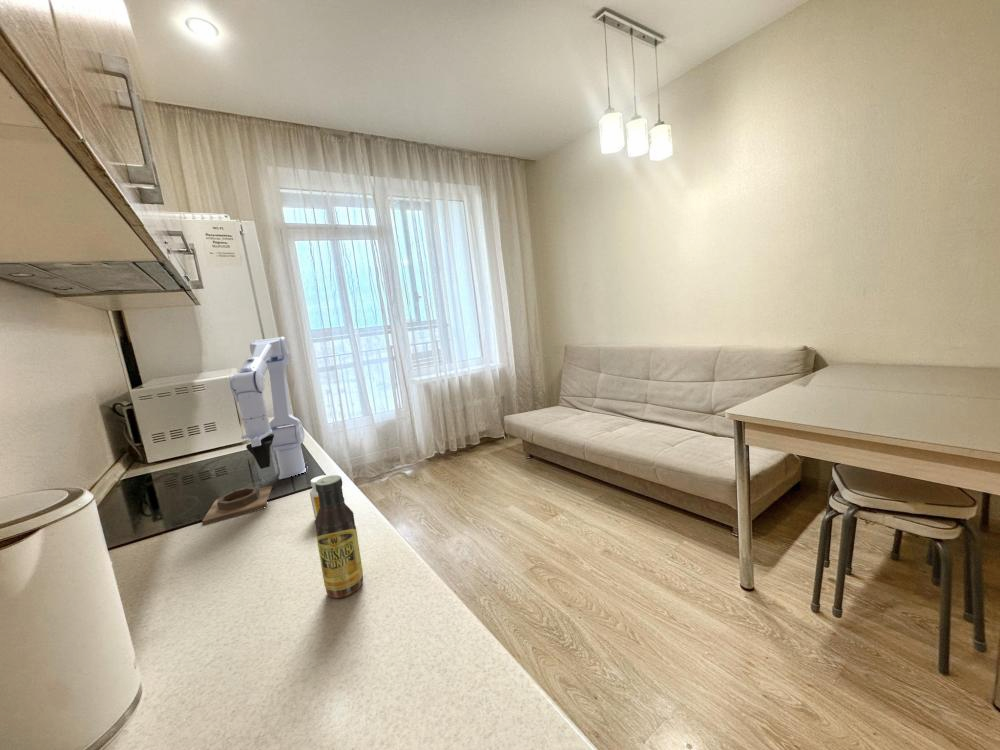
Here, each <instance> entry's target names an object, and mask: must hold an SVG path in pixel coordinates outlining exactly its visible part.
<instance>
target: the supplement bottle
mask: <svg viewBox="0 0 1000 750" xmlns="http://www.w3.org/2000/svg"><path fill="white" fill-rule="evenodd" d="M327 476H328V475H326V474H322V475H318V476H315V477H313V478H312V479H311V480H310V485H311V487H312V488H311V489H310V491H309V496H310V502H311V506H312V510H313V515H314V519H315V520H316V517H317V514H318V511H319V508H320V506H319V504H320V503H319V497H318V492H317V491H316V485H315V483H316V482H317V481H318V480H319V479H321V478H324V477H327Z"/></svg>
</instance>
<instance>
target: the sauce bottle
mask: <svg viewBox="0 0 1000 750" xmlns="http://www.w3.org/2000/svg"><path fill="white" fill-rule="evenodd" d="M315 485H316V491H317V492H318V497H319V503H320V504H319V506H320V508H319V511H318V514H317V517H316V519H315V520H314V521H315V522H314V523H315V532H316V542H317V548H318V554H319V559H320V565H321V572H322V578H323V584H324V587H325V590H326V594H327V596H328V597H330V598H333V599H341V598H346V597H348V596H350V595H352V594H353V593H356V592H357V591H358V590H359V589H360V587H361V585H362V584H363V582H364V576H363V575H364V571H363V563H362V559H361V551H360V544H359V539H358V531H357V526H356V522H355V515H354V512H353V510H352V509H351V508H350V507H349V505H347V504H346V502H345V497H344V495H343V494H344V493H343V488H342V487H343V480H342V476H340V475H337V474H335V475H334V474H333V475H332V474H331V475H327V477H324V478H321V479H319V480H318V481H317V482H316V483H315Z"/></svg>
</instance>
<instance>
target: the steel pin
mask: <svg viewBox="0 0 1000 750" xmlns="http://www.w3.org/2000/svg"><path fill="white" fill-rule="evenodd" d="M275 455H276V454H275V451H274V450H273V447H272V443H271V445H270V466H269V467H266V468H262V469H261V468H260V467H259V465H258V463H257V461H256V459H255V457H254V456H253V458H254V462H255V466H256V470H257V474H258V479H259V480H262V479H266V478H271V477H276V476H277V475H278V471H279V469H278V465H277V464H278V463H277V462H276V457H275Z"/></svg>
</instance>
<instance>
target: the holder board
mask: <svg viewBox="0 0 1000 750" xmlns="http://www.w3.org/2000/svg"><path fill="white" fill-rule="evenodd" d="M272 488H274V487H273V485H272V484H271V485H267V486H264V487H263V486H262V487H254V486H247V487H244V488H239V489H235V490H233V491H230V492H227V493H226V494H224V495H222V496H220V497H219V498H216V499H215V501H214V502H213V504H212V505H211V507H210V508H209V510H208V511H207V513H206V514H205V516H204V517H203V519H202V521H201V523H202V525H203V526H204V525H208V524H211V522H212V523H215V522H218V521H223V520H225V519H229V518H234V517H237V516H241V515H244V514H248V512H249V513H252V512H255V510H256V511H259V510H258V509H260V510H262V509H261V508H263V509H265V508H264V507H266V506H267V507H268V504H267V500H268V497H269V495H270V492H271V490H272V491H273V489H272ZM271 493H272V492H271ZM270 496H271V495H270ZM267 507H266V508H267ZM251 511H252V512H251ZM207 523H208V524H207Z"/></svg>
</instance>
